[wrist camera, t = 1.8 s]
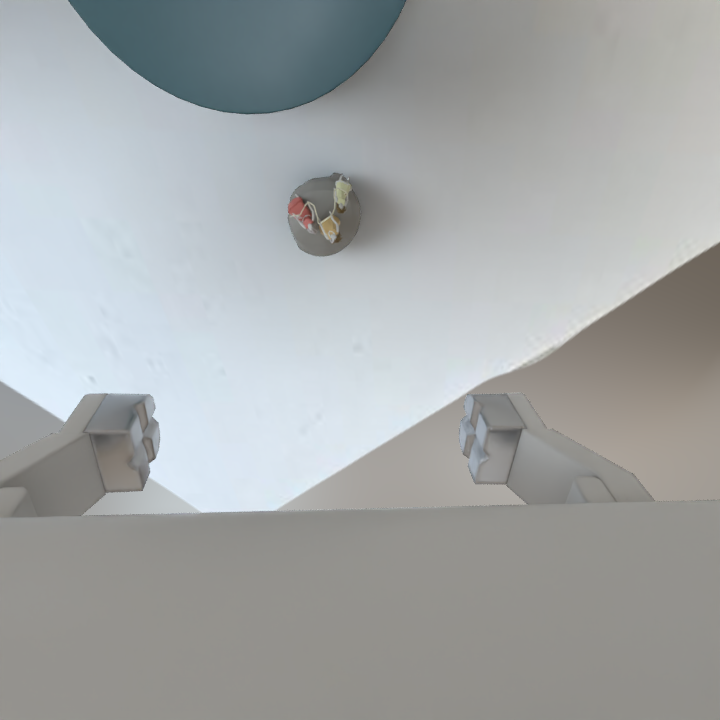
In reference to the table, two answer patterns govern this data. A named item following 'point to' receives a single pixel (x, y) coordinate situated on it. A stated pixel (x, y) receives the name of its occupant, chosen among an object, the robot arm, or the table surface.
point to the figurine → (324, 215)
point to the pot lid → (242, 46)
